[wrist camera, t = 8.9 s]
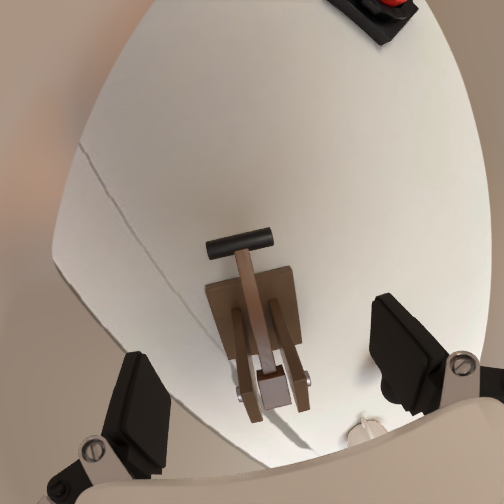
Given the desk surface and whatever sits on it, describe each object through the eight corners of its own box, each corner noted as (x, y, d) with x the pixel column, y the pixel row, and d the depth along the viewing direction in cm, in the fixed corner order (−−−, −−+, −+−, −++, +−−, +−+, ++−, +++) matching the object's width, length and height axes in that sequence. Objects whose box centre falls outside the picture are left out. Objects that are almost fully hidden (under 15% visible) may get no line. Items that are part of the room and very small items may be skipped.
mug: (380, 427, 47) (394, 454, 40) (344, 443, 48) (355, 471, 40) (380, 401, 43) (398, 432, 36) (338, 420, 43) (352, 453, 36)
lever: (207, 242, 23) (203, 240, 21) (268, 229, 23) (270, 225, 21) (247, 401, 23) (247, 413, 20) (303, 388, 23) (308, 399, 20)
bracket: (205, 284, 30) (201, 374, 18) (289, 265, 30) (332, 344, 18) (228, 353, 33) (236, 441, 22) (299, 337, 34) (332, 419, 22)
